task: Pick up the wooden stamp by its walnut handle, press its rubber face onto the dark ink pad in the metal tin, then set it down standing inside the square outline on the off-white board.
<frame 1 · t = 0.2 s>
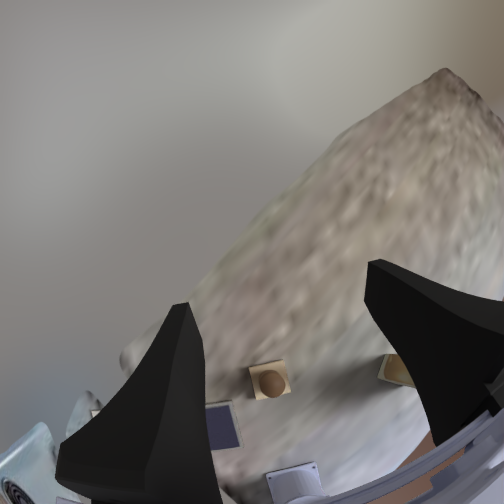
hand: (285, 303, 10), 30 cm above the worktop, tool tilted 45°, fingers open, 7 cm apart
skincare box: (393, 369, 37), on the worktop
stamp: (269, 379, 37), on the worktop
ink pad: (211, 427, 34), on the worktop
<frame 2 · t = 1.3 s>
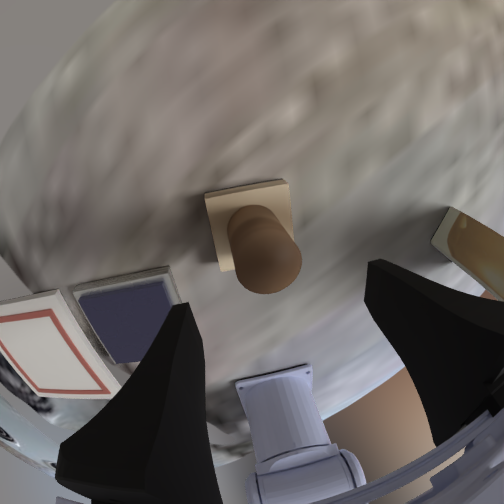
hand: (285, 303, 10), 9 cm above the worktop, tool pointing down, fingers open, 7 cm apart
marked board: (44, 353, 21), on the worktop
skincare box: (450, 234, 22), on the worktop
stamp: (249, 220, 18), on the worktop
ink pad: (137, 317, 20), on the worktop
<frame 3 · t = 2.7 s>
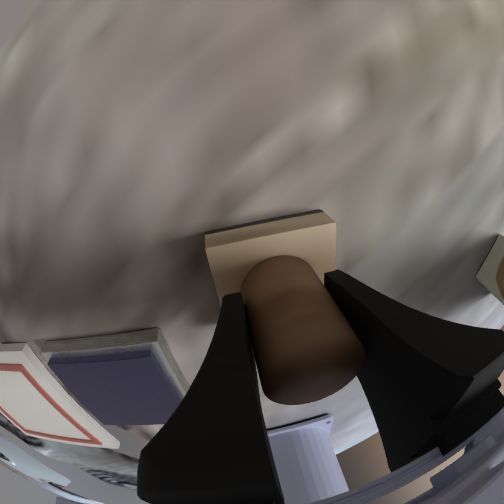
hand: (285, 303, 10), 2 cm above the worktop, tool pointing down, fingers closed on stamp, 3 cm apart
marked board: (25, 400, 15), on the worktop
skincare box: (493, 264, 17), on the worktop
stamp: (271, 271, 13), on the worktop, touching gripper
ink pad: (124, 380, 15), on the worktop
when the fingers open (4 cm above the worktop, at t = 11.5 s): stamp stays where it is, resting on marked board.
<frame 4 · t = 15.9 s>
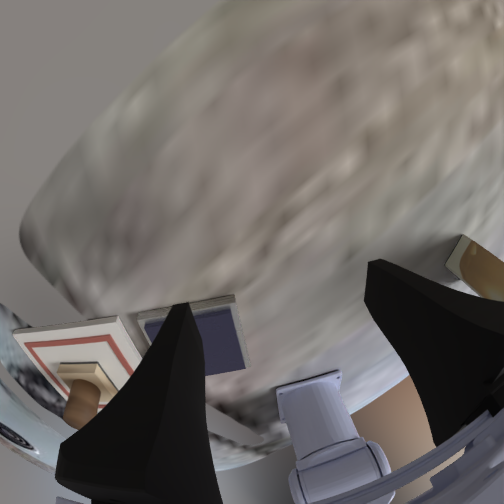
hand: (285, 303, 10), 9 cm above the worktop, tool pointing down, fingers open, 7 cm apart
marked board: (91, 372, 23), on the worktop
skincare box: (461, 257, 25), on the worktop
stamp: (89, 377, 23), point 1 cm above the worktop, touching marked board
ink pad: (197, 339, 23), on the worktop
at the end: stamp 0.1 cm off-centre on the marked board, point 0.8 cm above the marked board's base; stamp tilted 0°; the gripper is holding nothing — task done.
